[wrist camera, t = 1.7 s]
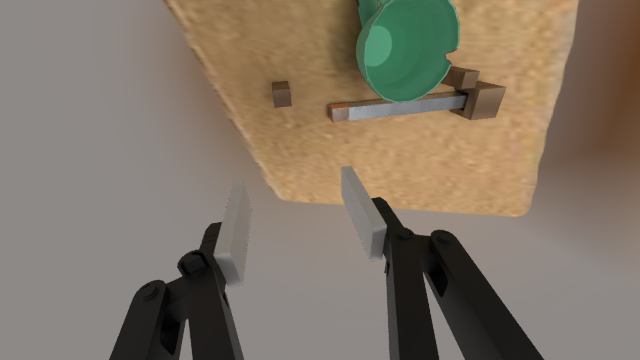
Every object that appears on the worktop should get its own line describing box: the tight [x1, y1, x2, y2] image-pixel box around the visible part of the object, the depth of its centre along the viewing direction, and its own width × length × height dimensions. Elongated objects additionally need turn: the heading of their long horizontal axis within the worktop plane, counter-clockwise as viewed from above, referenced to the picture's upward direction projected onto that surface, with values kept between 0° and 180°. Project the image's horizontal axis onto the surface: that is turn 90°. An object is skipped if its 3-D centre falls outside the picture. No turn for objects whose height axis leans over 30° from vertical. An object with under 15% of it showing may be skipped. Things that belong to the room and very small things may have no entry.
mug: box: [356, 0, 460, 103], centre depth 25 cm, size 15×10×10 cm
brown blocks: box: [272, 67, 506, 120], centre depth 32 cm, size 7×32×5 cm, turn 93°
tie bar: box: [329, 91, 469, 123], centre depth 35 cm, size 2×26×2 cm, turn 93°
